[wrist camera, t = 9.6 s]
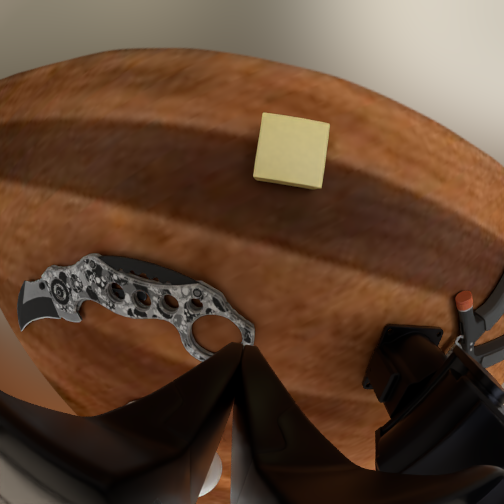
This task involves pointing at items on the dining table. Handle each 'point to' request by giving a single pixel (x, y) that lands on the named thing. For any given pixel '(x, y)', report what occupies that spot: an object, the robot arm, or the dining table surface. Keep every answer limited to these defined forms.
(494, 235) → the dining table surface
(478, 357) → the hand grip strengthener
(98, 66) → the dining table surface
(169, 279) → the knife
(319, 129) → the butter
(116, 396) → the dining table surface
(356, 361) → the dining table surface
